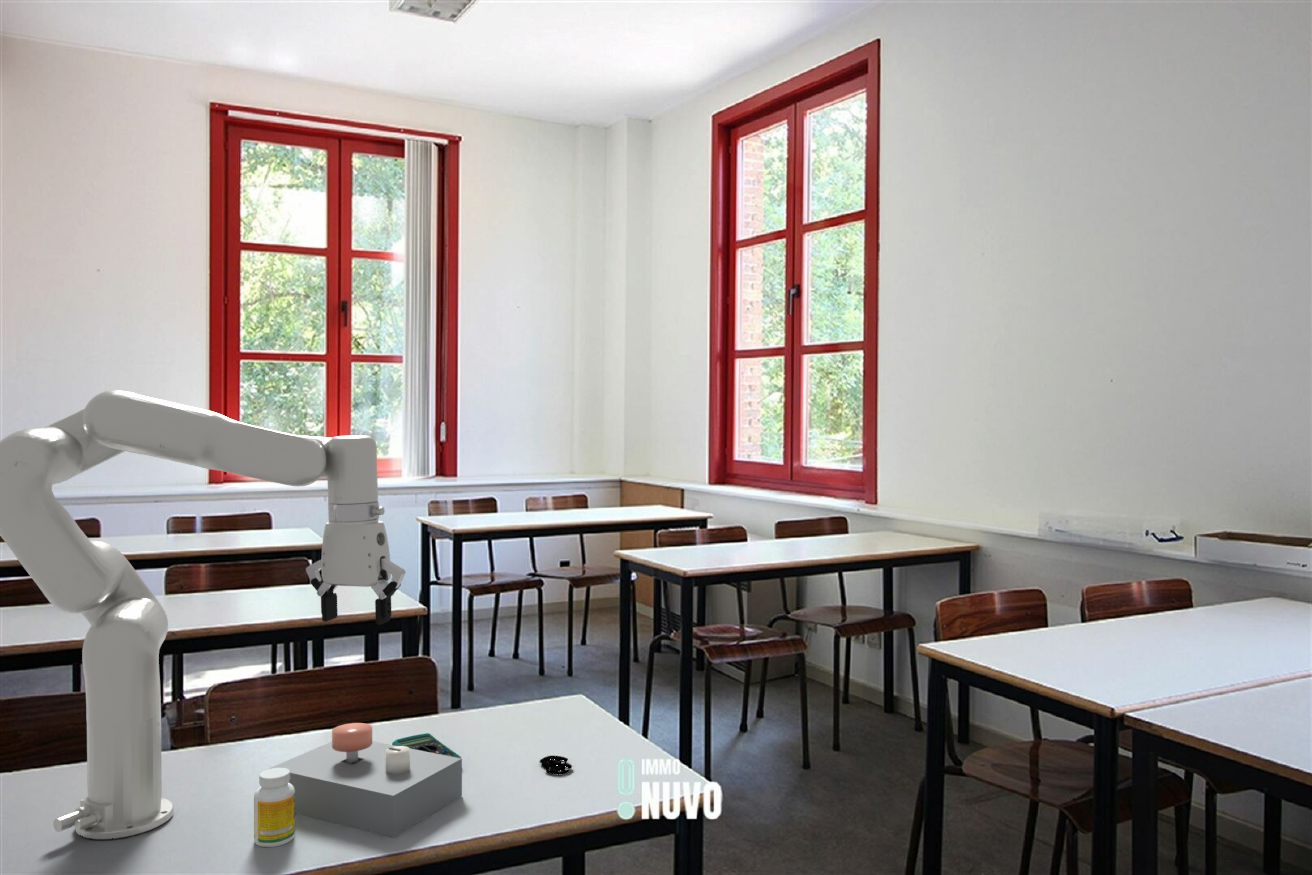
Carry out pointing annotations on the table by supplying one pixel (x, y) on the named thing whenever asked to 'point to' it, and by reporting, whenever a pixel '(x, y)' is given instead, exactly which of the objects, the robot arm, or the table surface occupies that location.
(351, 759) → the button
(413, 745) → the digital multimeter
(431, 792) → the box
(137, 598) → the robot arm
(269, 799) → the supplement bottle
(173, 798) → the table surface
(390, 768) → the knob
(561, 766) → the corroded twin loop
